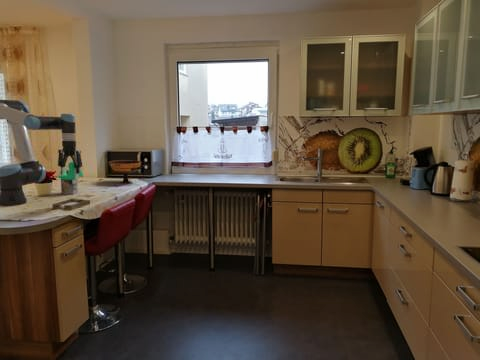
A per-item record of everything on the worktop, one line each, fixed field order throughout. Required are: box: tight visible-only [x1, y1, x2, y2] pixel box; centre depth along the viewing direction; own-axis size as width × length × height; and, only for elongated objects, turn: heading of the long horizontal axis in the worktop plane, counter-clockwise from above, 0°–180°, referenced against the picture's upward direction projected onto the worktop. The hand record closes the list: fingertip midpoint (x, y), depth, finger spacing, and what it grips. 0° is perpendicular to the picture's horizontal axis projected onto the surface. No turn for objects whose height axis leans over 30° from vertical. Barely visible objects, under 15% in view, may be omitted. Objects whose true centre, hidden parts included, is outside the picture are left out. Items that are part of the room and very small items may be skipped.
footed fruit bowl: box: [106, 159, 145, 185], centre depth 310 cm, size 36×26×18 cm
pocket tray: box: [52, 198, 91, 211], centre depth 225 cm, size 13×17×2 cm
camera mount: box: [58, 161, 83, 180], centre depth 222 cm, size 12×8×10 cm, turn 165°
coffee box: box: [59, 169, 79, 195], centre depth 261 cm, size 9×6×16 cm
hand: (70, 178), depth 223 cm, fingers closed on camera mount, 8 cm apart
